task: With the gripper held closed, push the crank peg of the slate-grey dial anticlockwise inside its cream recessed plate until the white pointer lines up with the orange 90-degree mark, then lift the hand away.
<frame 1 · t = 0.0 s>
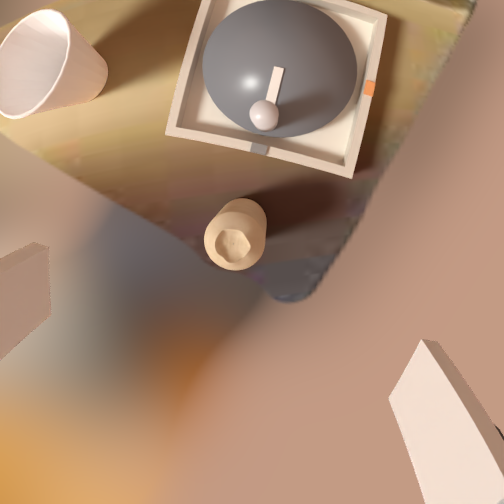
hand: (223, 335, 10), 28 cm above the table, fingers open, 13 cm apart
cup: (86, 78, 33), on the table
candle: (242, 221, 38), on the table
dial: (280, 57, 27), point 5 cm above the table, hinge at 0.0°
dial plate: (279, 70, 32), on the table
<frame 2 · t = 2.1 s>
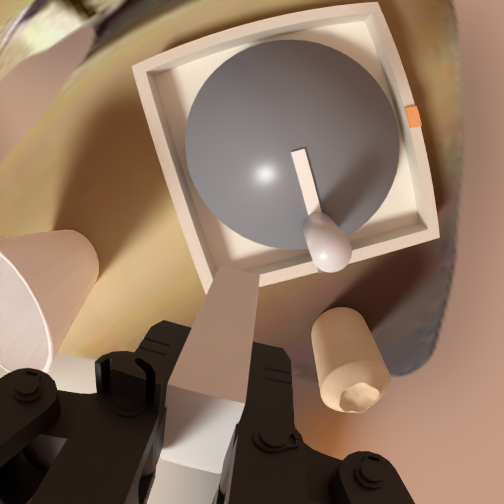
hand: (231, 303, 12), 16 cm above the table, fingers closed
cup: (73, 260, 30), on the table
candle: (338, 329, 31), on the table
dial: (297, 142, 20), point 5 cm above the table, hinge at 0.0°
dial plate: (292, 143, 25), on the table
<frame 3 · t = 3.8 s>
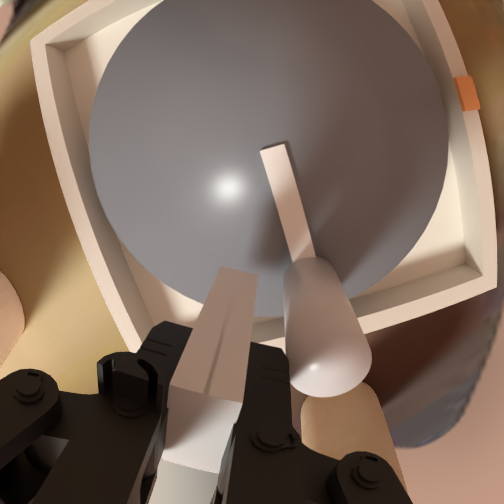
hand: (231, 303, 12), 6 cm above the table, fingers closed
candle: (338, 405, 20), on the table
dial: (266, 130, 10), point 5 cm above the table, hinge at 0.1°, touching gripper
dial plate: (268, 136, 15), on the table
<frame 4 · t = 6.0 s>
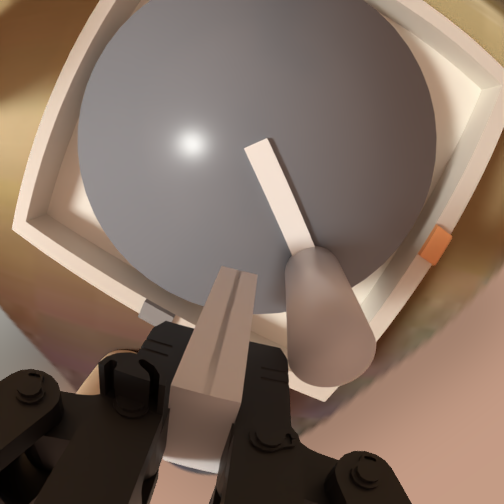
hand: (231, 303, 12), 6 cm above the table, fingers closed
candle: (135, 378, 21), on the table
dial: (244, 126, 10), point 5 cm above the table, hinge at 53.0°, touching gripper
dial plate: (255, 134, 15), on the table
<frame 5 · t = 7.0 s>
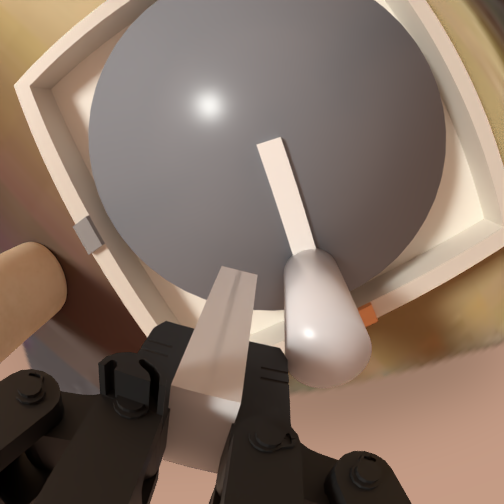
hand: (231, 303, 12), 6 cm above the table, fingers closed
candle: (40, 277, 19), on the table
dial: (261, 122, 10), point 5 cm above the table, hinge at 80.3°, touching gripper
dial plate: (266, 131, 15), on the table
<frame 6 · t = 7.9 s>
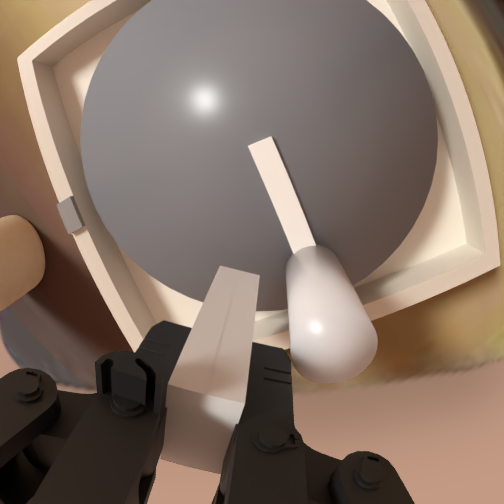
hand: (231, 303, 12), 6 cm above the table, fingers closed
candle: (21, 251, 19), on the table
dial: (249, 123, 10), point 5 cm above the table, hinge at 91.8°
dial plate: (257, 132, 15), on the table
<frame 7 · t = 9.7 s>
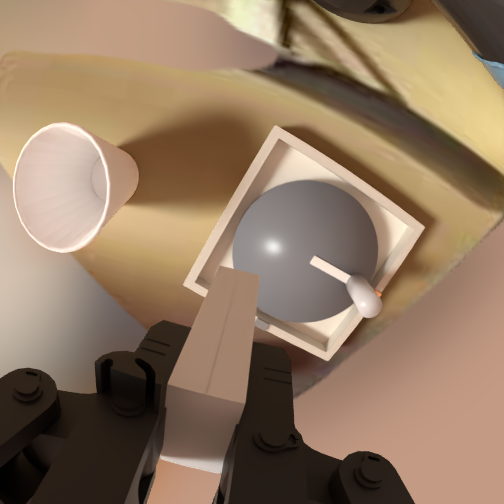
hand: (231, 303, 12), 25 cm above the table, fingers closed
cup: (114, 176, 36), on the table
dial: (309, 262, 33), point 5 cm above the table, hinge at 91.8°
dial plate: (304, 248, 38), on the table
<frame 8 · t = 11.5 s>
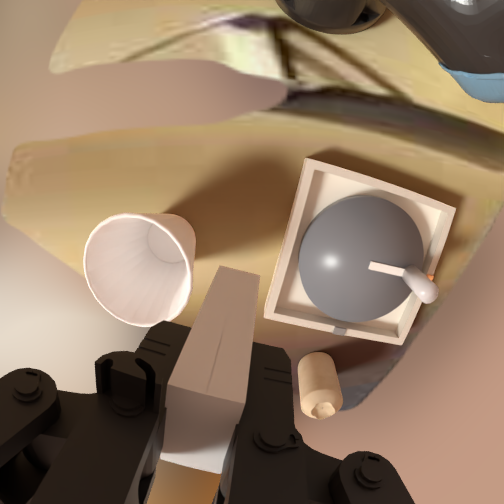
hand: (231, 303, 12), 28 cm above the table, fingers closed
cup: (171, 239, 42), on the table
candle: (315, 365, 46), on the table
dial: (369, 269, 35), point 5 cm above the table, hinge at 91.8°
dial plate: (358, 255, 41), on the table
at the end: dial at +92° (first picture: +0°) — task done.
